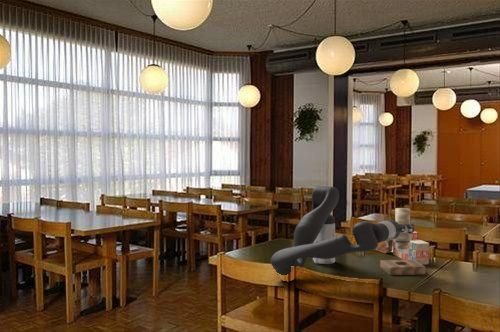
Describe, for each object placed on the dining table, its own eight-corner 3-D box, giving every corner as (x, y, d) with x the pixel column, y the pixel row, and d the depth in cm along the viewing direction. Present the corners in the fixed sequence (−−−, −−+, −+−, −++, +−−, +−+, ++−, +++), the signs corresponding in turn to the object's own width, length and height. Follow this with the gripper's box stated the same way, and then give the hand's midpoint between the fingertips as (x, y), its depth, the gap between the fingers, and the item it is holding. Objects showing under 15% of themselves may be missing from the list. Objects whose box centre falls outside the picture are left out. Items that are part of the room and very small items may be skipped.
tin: (372, 248, 234) (372, 231, 234) (378, 248, 235) (378, 231, 234) (387, 255, 219) (387, 237, 219) (394, 254, 220) (394, 236, 220)
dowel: (398, 250, 187) (398, 209, 187) (393, 247, 193) (393, 208, 192) (412, 249, 187) (412, 209, 187) (406, 246, 193) (407, 208, 193)
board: (390, 275, 184) (390, 267, 184) (380, 267, 196) (380, 260, 196) (425, 274, 185) (425, 266, 185) (413, 266, 197) (413, 259, 197)
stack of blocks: (429, 264, 201) (429, 235, 200) (415, 265, 200) (415, 236, 199) (404, 253, 222) (404, 227, 222) (392, 254, 221) (392, 228, 220)
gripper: (369, 238, 184) (388, 232, 197) (404, 242, 174) (422, 236, 187) (369, 219, 184) (388, 214, 196) (404, 222, 174) (422, 217, 187)
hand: (405, 225), depth 192 cm, fingers closed on dowel, 5 cm apart
